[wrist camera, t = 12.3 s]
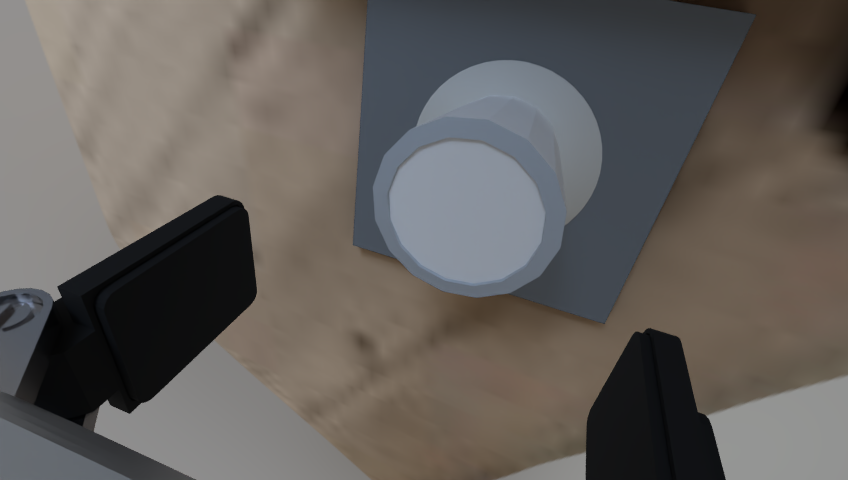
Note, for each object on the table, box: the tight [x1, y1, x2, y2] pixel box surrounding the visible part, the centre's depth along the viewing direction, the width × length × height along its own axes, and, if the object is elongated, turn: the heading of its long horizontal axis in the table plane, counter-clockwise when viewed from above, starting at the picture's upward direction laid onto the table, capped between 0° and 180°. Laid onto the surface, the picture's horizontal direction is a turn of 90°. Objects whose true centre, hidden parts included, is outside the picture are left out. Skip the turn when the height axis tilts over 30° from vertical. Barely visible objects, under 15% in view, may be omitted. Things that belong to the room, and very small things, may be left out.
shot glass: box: [373, 95, 567, 298], centre depth 18 cm, size 7×7×7 cm
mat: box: [353, 0, 756, 324], centre depth 21 cm, size 15×15×1 cm
